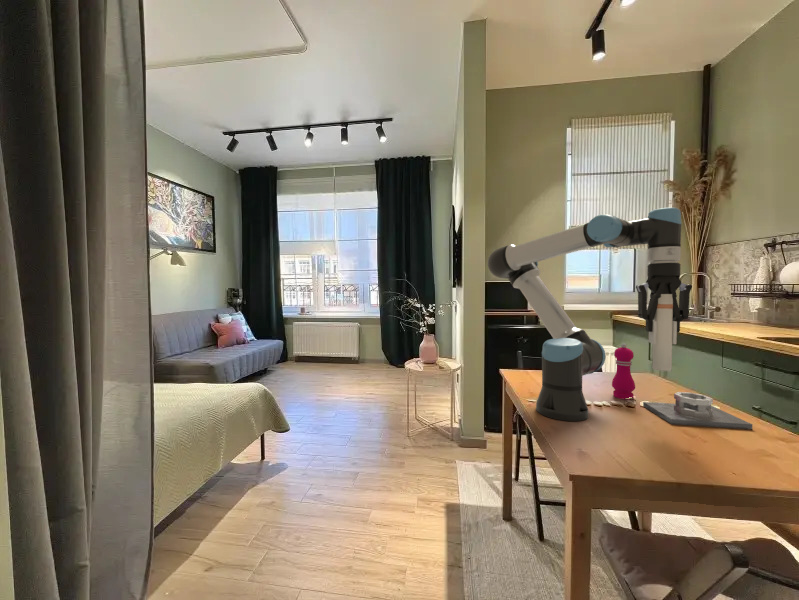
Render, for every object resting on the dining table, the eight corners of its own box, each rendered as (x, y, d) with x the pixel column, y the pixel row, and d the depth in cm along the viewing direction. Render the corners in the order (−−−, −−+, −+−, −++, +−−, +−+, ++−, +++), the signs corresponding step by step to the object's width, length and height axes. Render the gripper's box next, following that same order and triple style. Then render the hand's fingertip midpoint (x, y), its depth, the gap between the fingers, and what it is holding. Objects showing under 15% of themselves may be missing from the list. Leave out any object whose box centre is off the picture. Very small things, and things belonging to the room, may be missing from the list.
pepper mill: (639, 400, 121) (640, 344, 120) (619, 400, 121) (620, 344, 120) (626, 394, 128) (627, 341, 127) (607, 394, 128) (608, 341, 128)
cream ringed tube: (657, 370, 96) (658, 294, 96) (649, 367, 100) (650, 294, 100) (675, 371, 95) (676, 294, 95) (666, 368, 100) (667, 294, 99)
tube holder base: (671, 424, 98) (671, 402, 98) (643, 406, 114) (643, 387, 114) (752, 429, 94) (752, 406, 94) (711, 410, 110) (711, 390, 110)
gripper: (636, 262, 95) (635, 344, 96) (707, 261, 92) (705, 346, 92) (624, 264, 103) (623, 340, 103) (689, 263, 99) (688, 342, 100)
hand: (662, 343), depth 98 cm, fingers closed on cream ringed tube, 4 cm apart
